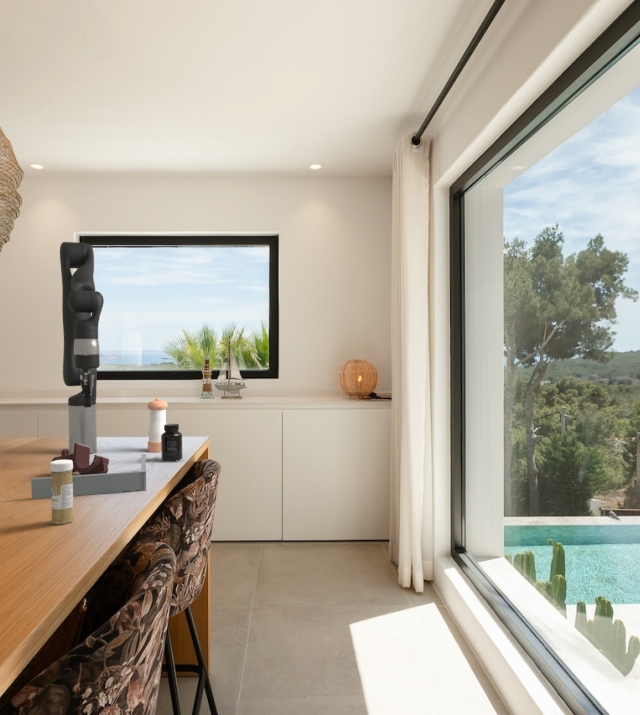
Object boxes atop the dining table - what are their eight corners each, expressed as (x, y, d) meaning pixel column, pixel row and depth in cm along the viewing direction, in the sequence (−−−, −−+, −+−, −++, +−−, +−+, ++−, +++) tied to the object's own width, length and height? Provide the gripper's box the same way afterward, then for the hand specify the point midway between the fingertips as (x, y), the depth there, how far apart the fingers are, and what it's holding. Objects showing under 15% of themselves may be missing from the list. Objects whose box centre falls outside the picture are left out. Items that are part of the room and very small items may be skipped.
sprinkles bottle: (47, 522, 125) (46, 461, 125) (67, 517, 129) (66, 458, 128) (57, 526, 122) (56, 464, 122) (77, 521, 126) (76, 460, 125)
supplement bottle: (186, 458, 194) (186, 423, 193) (175, 462, 187) (174, 426, 187) (169, 457, 196) (168, 422, 195) (157, 461, 189) (156, 425, 189)
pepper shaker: (168, 451, 206) (167, 398, 205) (147, 452, 204) (146, 399, 203) (168, 448, 213) (168, 397, 212) (148, 449, 211) (147, 397, 211)
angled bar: (47, 477, 168) (47, 460, 168) (145, 470, 176) (145, 454, 176) (31, 499, 144) (31, 479, 144) (146, 490, 152) (145, 471, 152)
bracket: (99, 471, 163) (101, 437, 167) (48, 481, 166) (51, 447, 170) (112, 475, 168) (113, 442, 172) (63, 484, 172) (65, 451, 176)
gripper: (76, 353, 188) (77, 405, 189) (71, 353, 175) (72, 409, 176) (100, 352, 190) (101, 404, 191) (97, 353, 178) (98, 408, 178)
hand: (87, 407), depth 183 cm, fingers closed
